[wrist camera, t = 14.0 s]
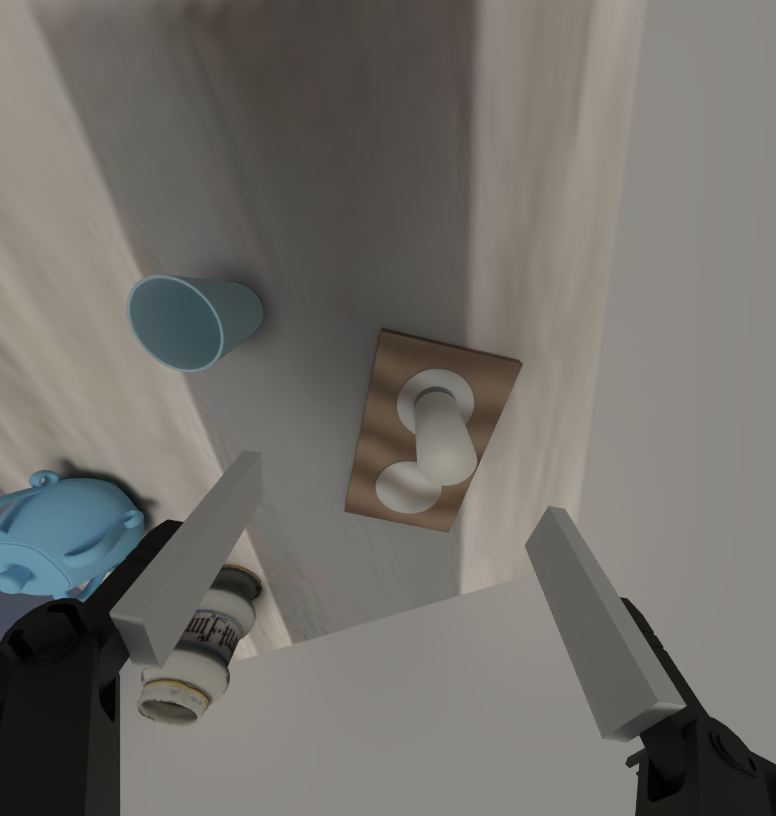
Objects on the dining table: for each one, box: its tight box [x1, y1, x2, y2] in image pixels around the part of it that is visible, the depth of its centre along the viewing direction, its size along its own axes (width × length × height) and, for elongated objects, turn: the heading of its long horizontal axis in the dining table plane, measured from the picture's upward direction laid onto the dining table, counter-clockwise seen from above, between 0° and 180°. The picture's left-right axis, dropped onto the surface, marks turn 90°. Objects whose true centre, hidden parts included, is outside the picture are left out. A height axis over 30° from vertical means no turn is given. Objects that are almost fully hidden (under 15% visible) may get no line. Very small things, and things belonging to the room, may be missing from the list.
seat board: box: [344, 329, 523, 533], centre depth 39 cm, size 27×16×2 cm, turn 168°
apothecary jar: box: [136, 565, 262, 727], centre depth 47 cm, size 12×12×18 cm
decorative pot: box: [0, 470, 145, 602], centre depth 42 cm, size 16×16×14 cm
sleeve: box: [414, 387, 477, 486], centre depth 30 cm, size 5×5×11 cm
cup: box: [127, 275, 264, 372], centre depth 28 cm, size 8×8×10 cm
